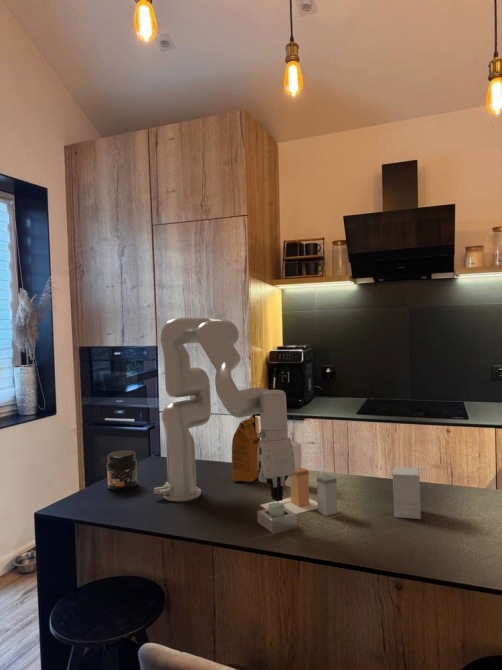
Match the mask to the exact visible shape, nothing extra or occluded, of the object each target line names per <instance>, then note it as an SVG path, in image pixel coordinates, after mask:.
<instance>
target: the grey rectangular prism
mask: <svg viewBox="0 0 502 670" xmlns="http://www.w3.org/2000/svg"><path fill="white" fill-rule="evenodd" d="M316 486H317V487H316V489H317V503H318V509H317V513H319V514H322V516H323V515H324V516H325V517H328V516H332V515H336V514H338V495H337V494H338V493H337V492H338V491H337V490H338V489H337V477H334V476H332V475H329V474H325V475H321V476H316Z"/></svg>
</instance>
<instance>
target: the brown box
mask: <svg viewBox="0 0 502 670" xmlns="http://www.w3.org/2000/svg"><path fill="white" fill-rule="evenodd" d="M290 478H291V487H290V498H291V503H292V504H294V505H296V506H298V507H301V506H305V505H309V498H310V487H309V484H310V483H309V469H306V468H304V467H302V466H301V467H299V468H295V472H294V473H293V475H292V476H290Z"/></svg>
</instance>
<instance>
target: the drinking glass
mask: <svg viewBox="0 0 502 670" xmlns="http://www.w3.org/2000/svg"><path fill="white" fill-rule="evenodd" d="M291 442H292V446H293V451H294V458H295V468H299V467H302V459H303V458H302V457H303V452H302V442H301V441H296V440H291ZM284 486H285V487H287V488H291V478H290V477H288V478H287V479H286V481H285V483H284Z"/></svg>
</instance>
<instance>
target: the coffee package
mask: <svg viewBox="0 0 502 670" xmlns="http://www.w3.org/2000/svg"><path fill="white" fill-rule="evenodd" d="M255 422H256V419H255V418H254V417H253V416H252V417H250V418H247V419H244V420H242V421H241V422H239V424H238V426H237V428H236V430H235V432H234V434H233V437H232V441H231V468H232V481H233V482H235V483H236V482H245V483H251V482H254V481H255V480H257V479H259V474H258V468H257V456H258V446H259V440H261V438H258V437H257V433H258V432H257V431H256V428H255V427H254V424H253V423H255Z"/></svg>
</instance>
